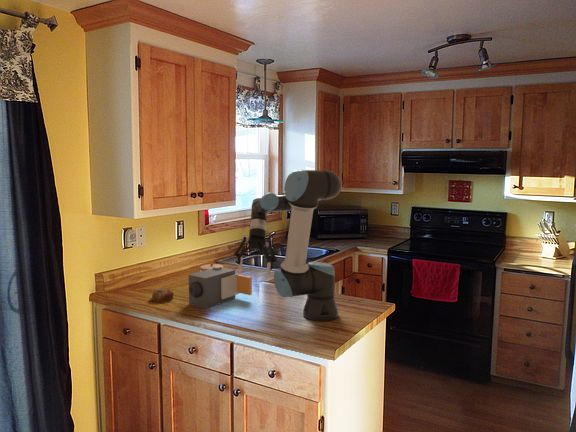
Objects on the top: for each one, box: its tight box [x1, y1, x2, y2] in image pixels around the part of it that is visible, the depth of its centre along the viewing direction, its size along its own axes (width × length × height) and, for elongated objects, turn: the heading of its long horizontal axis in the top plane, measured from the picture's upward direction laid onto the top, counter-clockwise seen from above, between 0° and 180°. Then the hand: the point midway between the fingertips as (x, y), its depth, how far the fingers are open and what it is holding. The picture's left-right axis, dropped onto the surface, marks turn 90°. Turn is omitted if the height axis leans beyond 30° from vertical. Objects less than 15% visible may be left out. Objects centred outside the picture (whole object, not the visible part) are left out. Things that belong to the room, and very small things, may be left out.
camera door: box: [221, 273, 253, 299], centre depth 230 cm, size 9×12×10 cm
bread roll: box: [151, 286, 174, 303], centre depth 235 cm, size 10×10×8 cm
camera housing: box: [187, 266, 236, 309], centre depth 231 cm, size 11×22×15 cm, turn 145°
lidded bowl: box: [199, 262, 225, 272], centre depth 265 cm, size 13×13×11 cm
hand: (254, 274), depth 221 cm, fingers open, 13 cm apart
